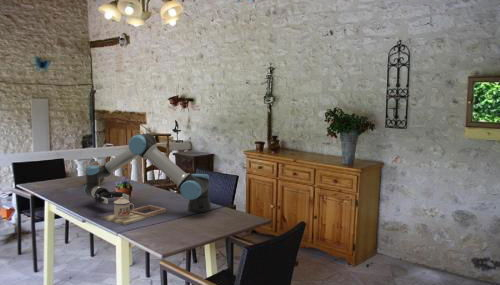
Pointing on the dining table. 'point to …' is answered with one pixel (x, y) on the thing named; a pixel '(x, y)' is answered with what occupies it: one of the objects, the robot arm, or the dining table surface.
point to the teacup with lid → (122, 208)
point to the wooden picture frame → (158, 211)
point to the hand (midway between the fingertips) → (118, 199)
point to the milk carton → (96, 163)
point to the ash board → (126, 221)
